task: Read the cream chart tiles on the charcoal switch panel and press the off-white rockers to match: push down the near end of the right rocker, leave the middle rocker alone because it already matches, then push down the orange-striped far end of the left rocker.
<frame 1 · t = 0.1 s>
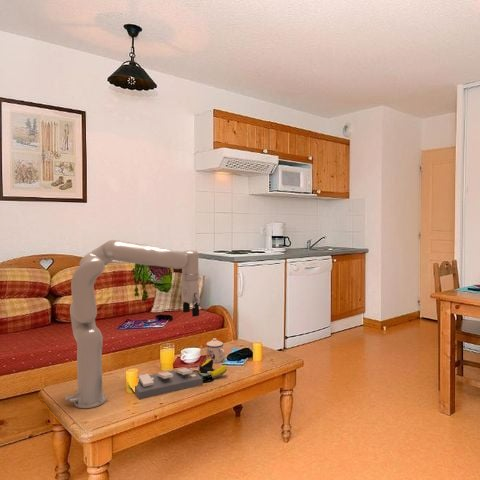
hand: (190, 314, 188), 31 cm above the table, tool pointing down, fingers open, 9 cm apart
rocker left: (145, 378, 178), point 5 cm above the table, hinge at 10.0°
yellow black spring clamp: (211, 375, 196), on the table
rocker middle: (164, 374, 182), point 5 cm above the table, hinge at -10.0°
switch panel: (165, 385, 183), on the table
rocker right: (183, 370, 187), point 5 cm above the table, hinge at -10.0°
teacup with lid: (216, 361, 215), on the table
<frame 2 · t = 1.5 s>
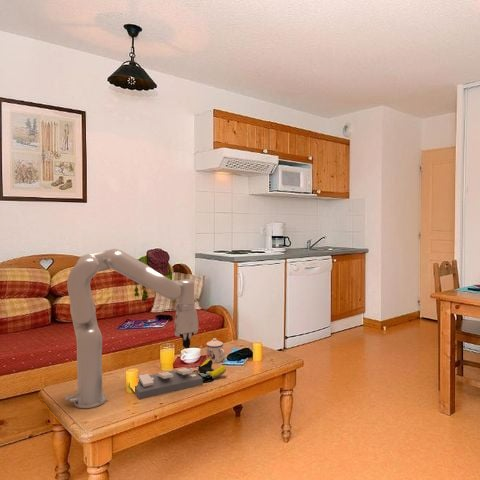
hand: (186, 347, 183), 17 cm above the table, tool pointing down, fingers closed
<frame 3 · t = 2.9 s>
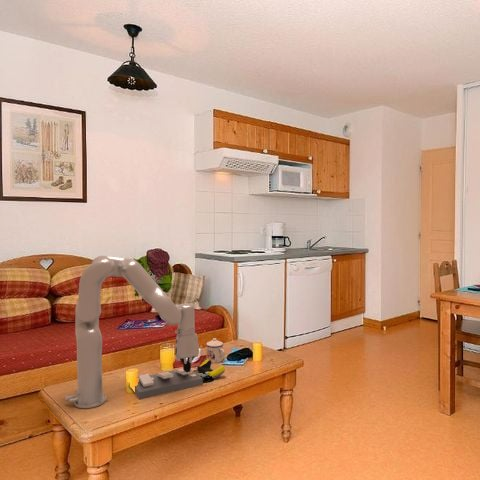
hand: (187, 371, 184), 6 cm above the table, tool pointing down, fingers closed
rocker right: (183, 370, 187), point 5 cm above the table, hinge at -9.4°, touching gripper
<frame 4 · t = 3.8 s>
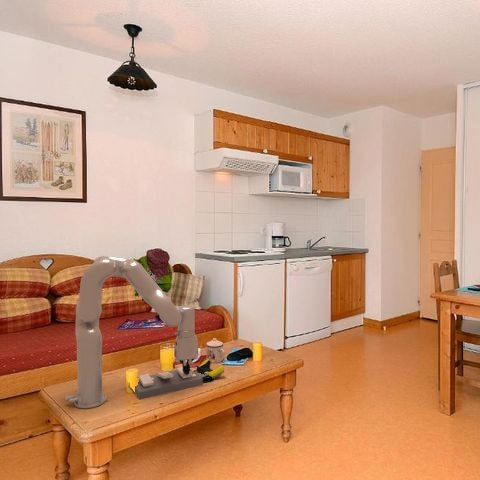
hand: (186, 373, 183), 5 cm above the table, tool pointing down, fingers closed
rocker right: (183, 370, 187), point 5 cm above the table, hinge at 10.3°
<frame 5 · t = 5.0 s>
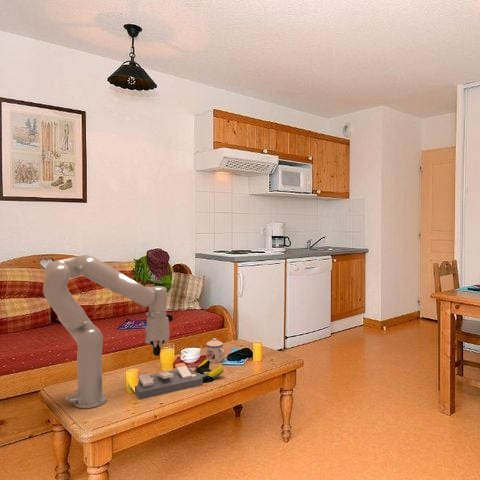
hand: (156, 355, 181), 14 cm above the table, tool pointing down, fingers closed
rocker right: (183, 370, 187), point 5 cm above the table, hinge at 16.6°, touching switch panel
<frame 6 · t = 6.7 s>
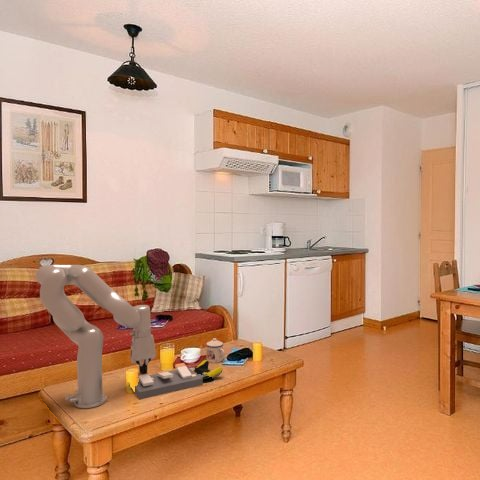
hand: (143, 373, 182), 6 cm above the table, tool pointing down, fingers closed
rocker left: (145, 378, 178), point 5 cm above the table, hinge at 7.4°, touching gripper
rocker right: (183, 370, 187), point 5 cm above the table, hinge at 15.3°
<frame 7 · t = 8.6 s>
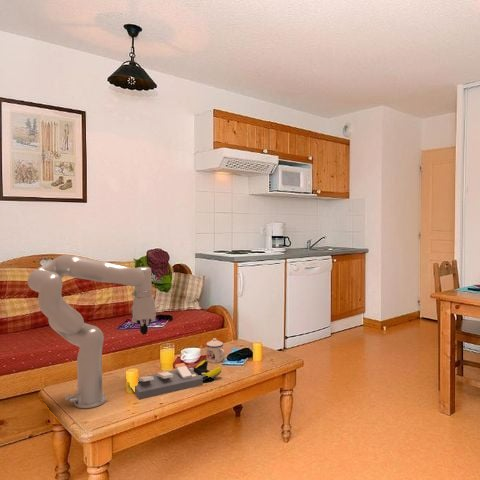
hand: (144, 333, 186), 23 cm above the table, tool pointing down, fingers closed
rocker left: (145, 378, 178), point 5 cm above the table, hinge at -16.8°, touching switch panel
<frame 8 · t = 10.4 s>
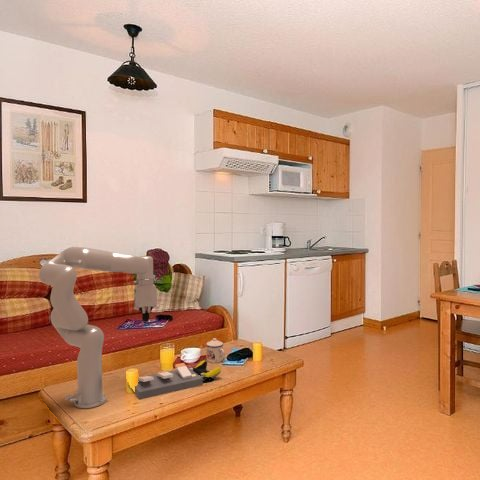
hand: (145, 320, 191), 27 cm above the table, tool pointing down, fingers closed
rocker left: (145, 378, 178), point 5 cm above the table, hinge at -15.7°
at the end: rocker right at +15° (first picture: -10°); rocker middle at -10° (first picture: -10°); rocker left at -16° (first picture: +10°) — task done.
